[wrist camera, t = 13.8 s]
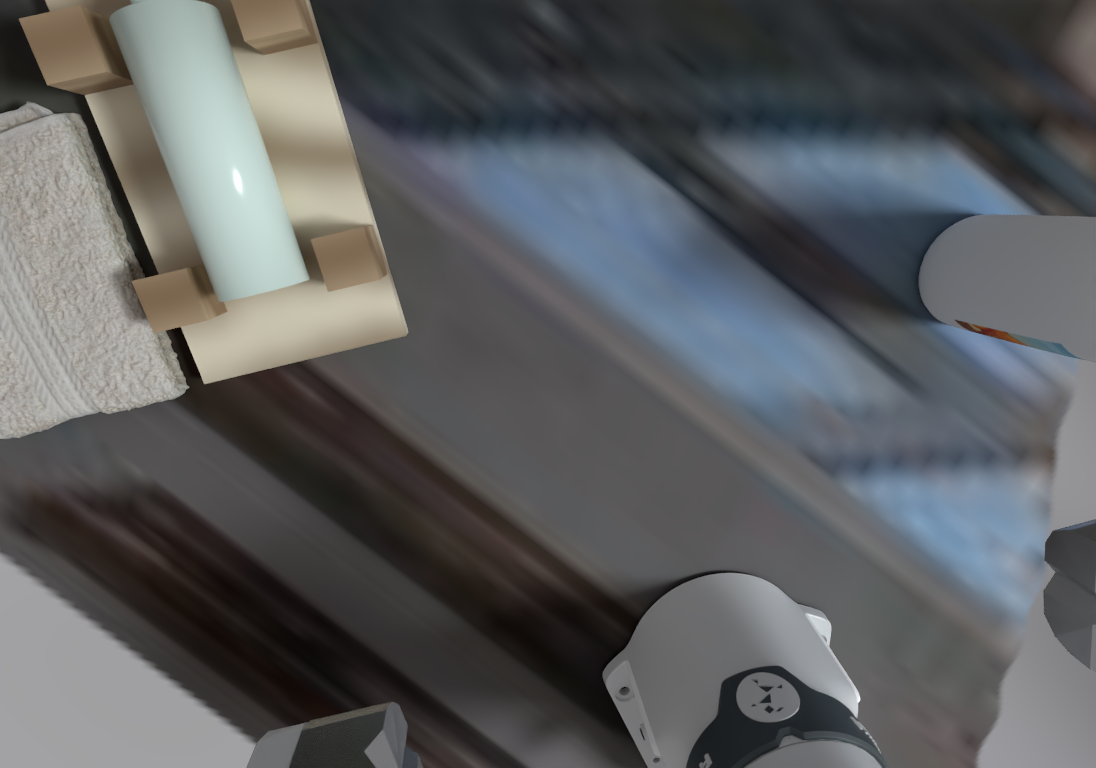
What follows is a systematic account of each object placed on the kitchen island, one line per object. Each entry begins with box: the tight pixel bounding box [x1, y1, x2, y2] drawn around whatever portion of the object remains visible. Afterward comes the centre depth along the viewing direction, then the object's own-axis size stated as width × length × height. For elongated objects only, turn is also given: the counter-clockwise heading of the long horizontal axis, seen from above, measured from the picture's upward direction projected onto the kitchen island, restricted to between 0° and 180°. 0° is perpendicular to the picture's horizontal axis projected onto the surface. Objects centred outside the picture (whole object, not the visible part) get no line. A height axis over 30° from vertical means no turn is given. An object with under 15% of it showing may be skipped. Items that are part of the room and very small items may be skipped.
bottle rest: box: [19, 0, 408, 384], centre depth 34 cm, size 24×13×4 cm, turn 13°
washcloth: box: [0, 101, 189, 439], centre depth 36 cm, size 12×18×3 cm, turn 12°
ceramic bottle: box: [109, 0, 310, 302], centre depth 32 cm, size 18×5×5 cm, turn 12°
